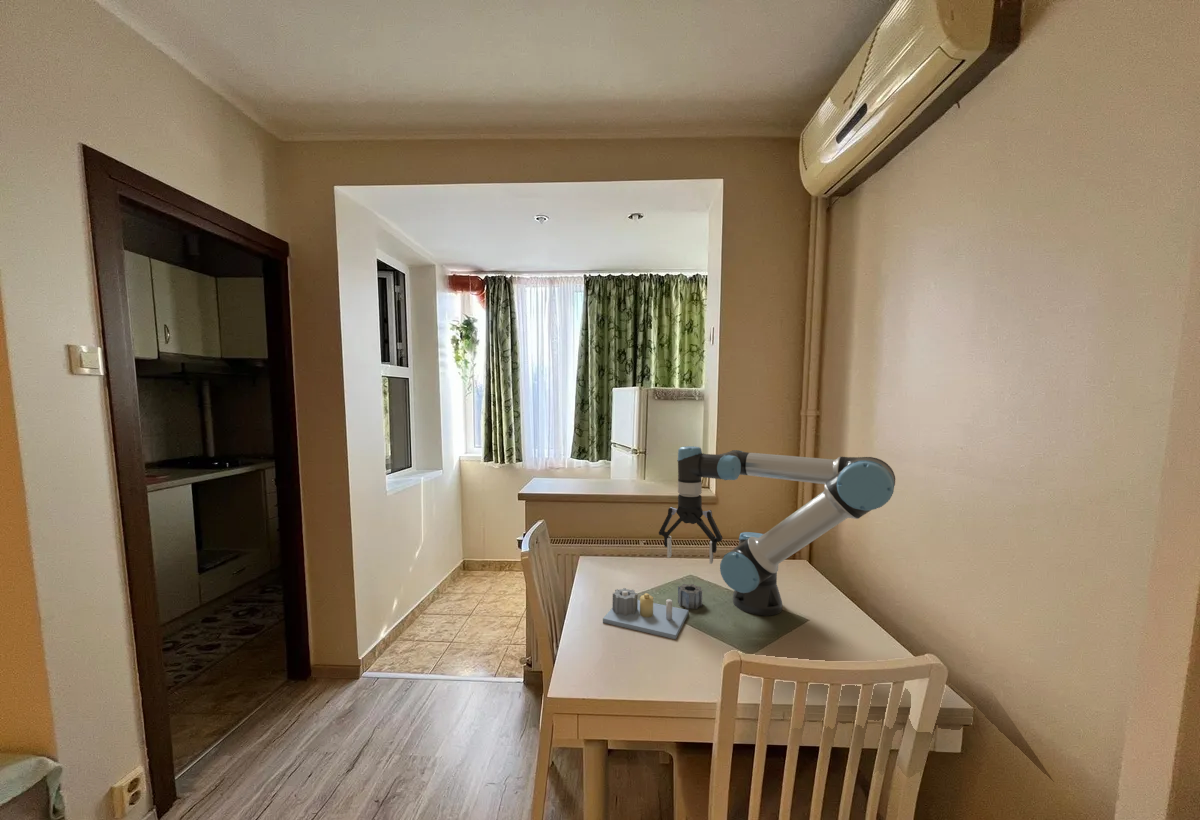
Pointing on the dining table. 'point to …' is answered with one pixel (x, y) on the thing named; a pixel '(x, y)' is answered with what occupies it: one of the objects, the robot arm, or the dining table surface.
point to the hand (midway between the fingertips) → (690, 559)
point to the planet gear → (690, 596)
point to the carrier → (645, 614)
